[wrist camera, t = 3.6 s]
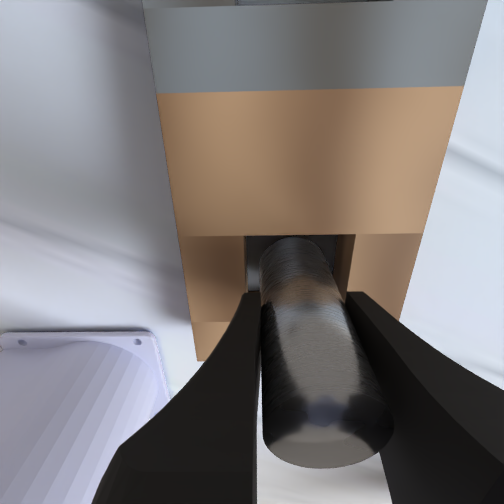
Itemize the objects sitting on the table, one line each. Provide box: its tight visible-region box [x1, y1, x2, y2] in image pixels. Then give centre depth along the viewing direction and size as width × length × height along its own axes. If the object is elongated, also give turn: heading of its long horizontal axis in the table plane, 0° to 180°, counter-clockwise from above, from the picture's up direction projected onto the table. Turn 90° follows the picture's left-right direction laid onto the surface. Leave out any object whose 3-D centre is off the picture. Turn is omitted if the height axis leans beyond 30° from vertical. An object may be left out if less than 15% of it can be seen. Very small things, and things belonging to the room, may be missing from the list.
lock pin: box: [259, 237, 394, 469], centre depth 11 cm, size 3×3×8 cm
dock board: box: [142, 0, 488, 361], centre depth 11 cm, size 10×22×2 cm, turn 1°
